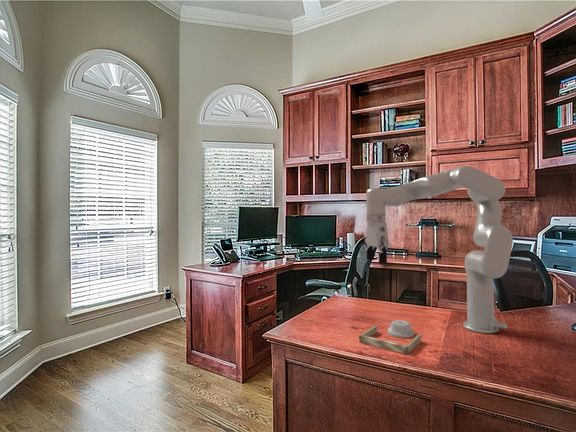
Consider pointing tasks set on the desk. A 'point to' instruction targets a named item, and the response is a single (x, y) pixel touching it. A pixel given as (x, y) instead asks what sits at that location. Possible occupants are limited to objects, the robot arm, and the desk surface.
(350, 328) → the desk surface
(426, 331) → the desk surface
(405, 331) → the mechanical component
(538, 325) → the desk surface
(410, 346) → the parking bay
